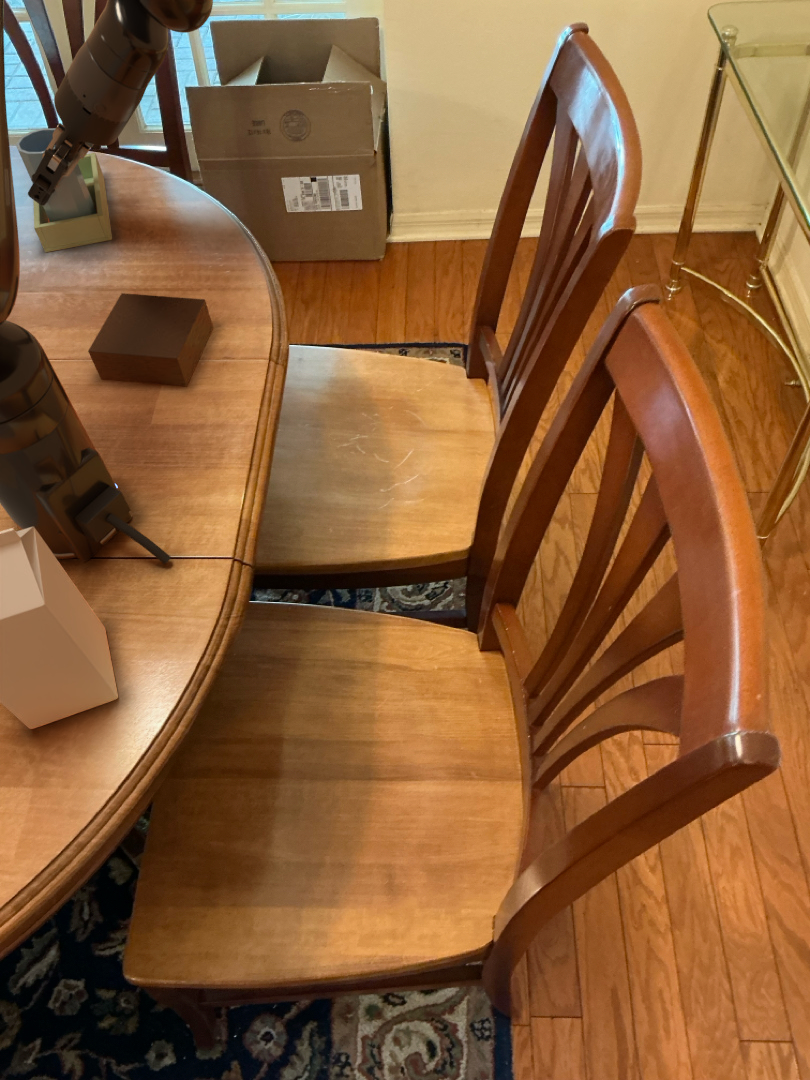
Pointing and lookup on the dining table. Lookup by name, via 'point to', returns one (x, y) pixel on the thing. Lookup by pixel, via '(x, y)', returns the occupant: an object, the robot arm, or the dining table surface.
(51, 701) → the milk carton
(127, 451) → the dining table surface
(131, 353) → the brown square block
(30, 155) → the cup
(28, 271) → the dining table surface
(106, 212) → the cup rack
